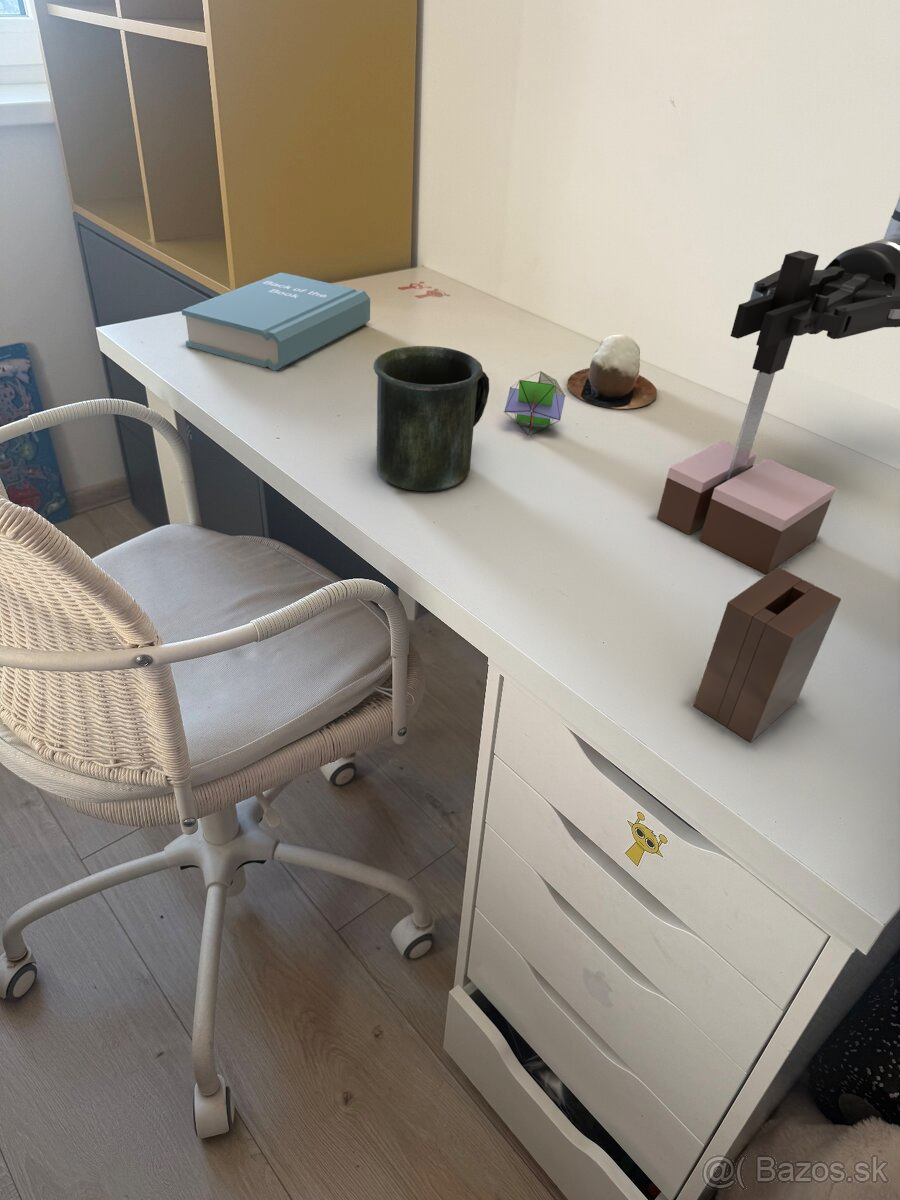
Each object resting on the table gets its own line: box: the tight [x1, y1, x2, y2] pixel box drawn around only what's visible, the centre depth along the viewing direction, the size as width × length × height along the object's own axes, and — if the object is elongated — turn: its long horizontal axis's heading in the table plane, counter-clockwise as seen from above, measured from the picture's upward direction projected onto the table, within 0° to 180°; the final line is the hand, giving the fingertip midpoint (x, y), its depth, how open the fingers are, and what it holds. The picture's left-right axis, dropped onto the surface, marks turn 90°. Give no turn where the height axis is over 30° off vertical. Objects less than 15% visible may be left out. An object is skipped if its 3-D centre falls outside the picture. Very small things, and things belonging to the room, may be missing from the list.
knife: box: [726, 250, 820, 481], centre depth 77 cm, size 2×3×23 cm, turn 133°
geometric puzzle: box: [503, 370, 567, 437], centre depth 99 cm, size 7×7×8 cm
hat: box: [566, 334, 658, 410], centre depth 111 cm, size 12×10×10 cm
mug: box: [372, 345, 490, 492], centre depth 88 cm, size 11×15×12 cm
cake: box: [699, 458, 837, 575], centre depth 82 cm, size 8×10×6 cm
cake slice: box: [656, 440, 757, 536], centre depth 86 cm, size 4×10×6 cm, turn 133°
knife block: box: [693, 566, 842, 743], centre depth 61 cm, size 5×7×10 cm
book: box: [181, 271, 371, 372], centre depth 119 cm, size 23×16×5 cm
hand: (751, 326), depth 70 cm, fingers closed on knife, 2 cm apart
